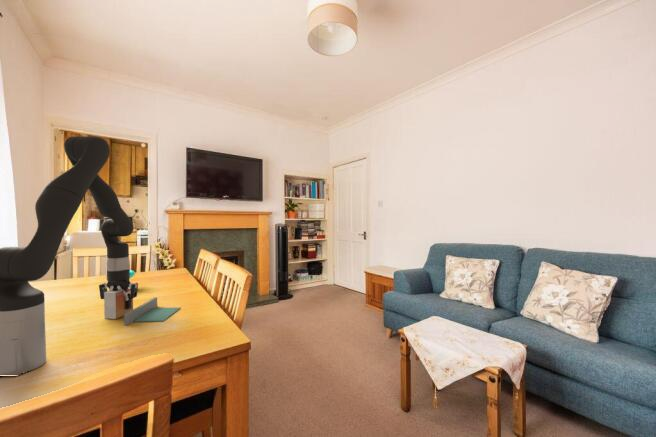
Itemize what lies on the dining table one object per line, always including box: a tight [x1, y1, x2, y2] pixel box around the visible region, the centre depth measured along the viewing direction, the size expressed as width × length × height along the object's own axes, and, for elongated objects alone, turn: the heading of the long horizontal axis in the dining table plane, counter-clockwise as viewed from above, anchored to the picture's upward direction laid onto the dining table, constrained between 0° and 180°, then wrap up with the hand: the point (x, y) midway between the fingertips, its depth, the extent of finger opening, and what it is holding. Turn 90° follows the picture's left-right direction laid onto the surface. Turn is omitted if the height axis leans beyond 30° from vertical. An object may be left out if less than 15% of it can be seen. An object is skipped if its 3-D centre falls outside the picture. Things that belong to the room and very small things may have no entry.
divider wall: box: [123, 297, 158, 326], centre depth 114 cm, size 20×1×4 cm, turn 3°
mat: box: [133, 307, 181, 323], centre depth 114 cm, size 14×11×1 cm
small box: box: [103, 288, 134, 320], centre depth 113 cm, size 8×6×10 cm
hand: (119, 308), depth 113 cm, fingers closed on small box, 6 cm apart
